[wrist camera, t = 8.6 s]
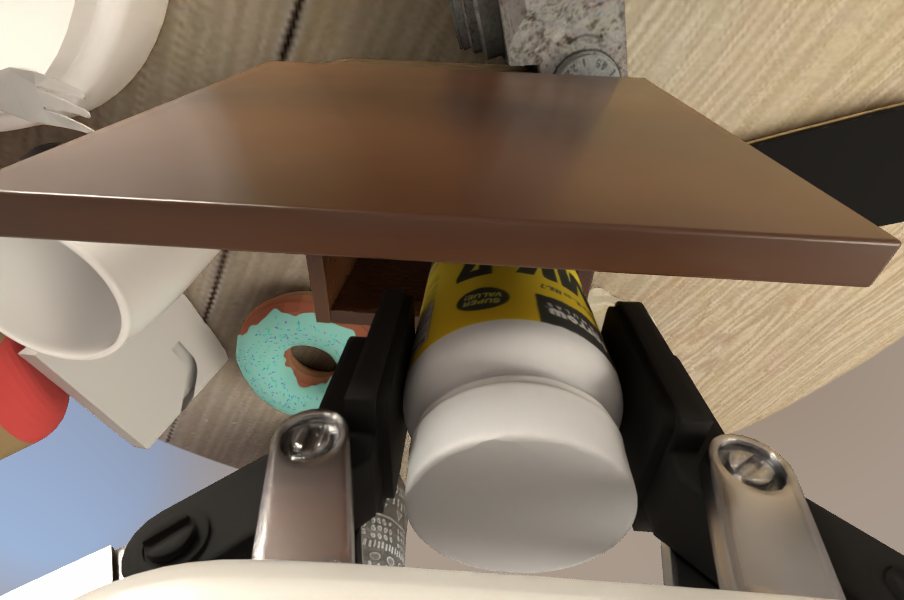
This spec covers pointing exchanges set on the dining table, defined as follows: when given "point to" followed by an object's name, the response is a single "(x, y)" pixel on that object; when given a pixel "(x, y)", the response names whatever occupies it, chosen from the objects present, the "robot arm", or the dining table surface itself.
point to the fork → (39, 98)
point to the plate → (78, 45)
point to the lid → (445, 178)
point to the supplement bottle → (514, 422)
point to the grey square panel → (142, 374)
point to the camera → (546, 34)
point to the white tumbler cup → (89, 292)
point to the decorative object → (25, 401)
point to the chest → (364, 279)
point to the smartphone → (849, 160)
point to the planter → (387, 533)
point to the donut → (289, 351)
